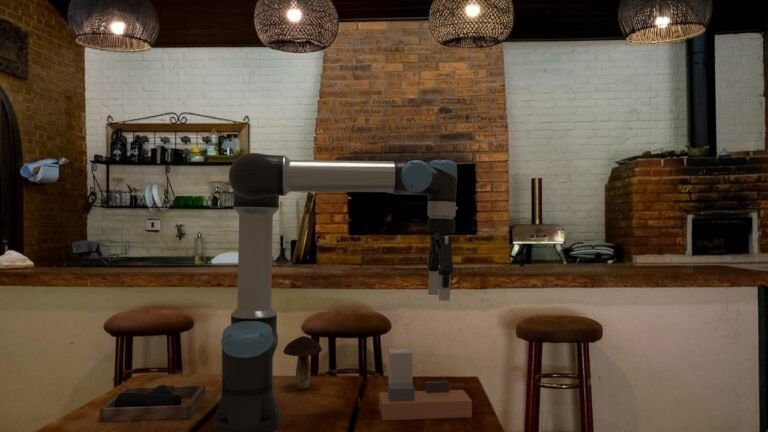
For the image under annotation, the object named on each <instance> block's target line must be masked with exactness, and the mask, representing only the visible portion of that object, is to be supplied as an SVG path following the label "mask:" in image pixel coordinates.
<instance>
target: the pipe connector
mask: <svg viewBox="0 0 768 432" xmlns="http://www.w3.org/2000/svg"><path fill="white" fill-rule="evenodd" d="M174 386H175V385H173V384H172V385H171V384H169V385H167V384H158V385H157V387H155V386H154V387H155V388H153V390H152V391H150V392H149V393H147V394H145V393H123V392H122V393H120V394H119V395H118V396H117V398H116V401H115V408H118V407H148V406H178V405H183V404H182V398H181V397H180V396H179V395H173V391H174Z"/></svg>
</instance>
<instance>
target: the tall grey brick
mask: <svg viewBox="0 0 768 432" xmlns="http://www.w3.org/2000/svg"><path fill="white" fill-rule="evenodd" d="M413 355H414V353H413V351H412V350H411V348H389V349H388V383H412V385H413V386H414V384H413V383H414V382H413V375H414V374H413V373H414V372H413V365H414V362H413V360H414V359H413Z"/></svg>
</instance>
